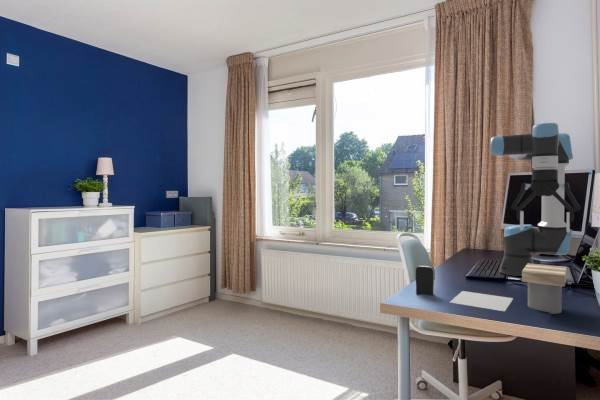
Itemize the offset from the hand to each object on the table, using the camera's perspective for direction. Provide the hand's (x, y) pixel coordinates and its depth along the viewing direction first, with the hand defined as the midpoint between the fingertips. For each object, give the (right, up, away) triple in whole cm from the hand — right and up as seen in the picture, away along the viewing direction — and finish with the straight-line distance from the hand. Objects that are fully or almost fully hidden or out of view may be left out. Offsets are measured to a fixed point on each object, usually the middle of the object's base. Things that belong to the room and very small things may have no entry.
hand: (544, 230), depth 135 cm
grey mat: (-18, -27, +8) cm, 33 cm away
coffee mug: (0, -27, +1) cm, 27 cm away
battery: (-35, -27, +18) cm, 48 cm away
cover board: (0, -17, 0) cm, 17 cm away
